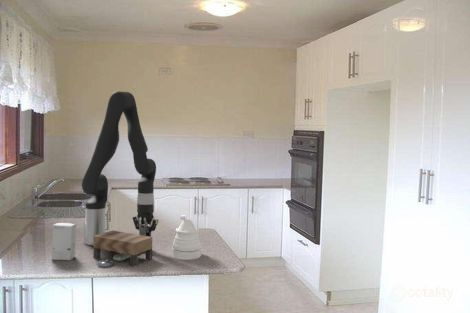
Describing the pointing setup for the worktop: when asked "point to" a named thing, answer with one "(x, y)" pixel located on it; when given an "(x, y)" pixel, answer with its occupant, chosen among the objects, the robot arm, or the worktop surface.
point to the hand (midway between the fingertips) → (145, 239)
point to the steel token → (105, 263)
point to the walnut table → (123, 244)
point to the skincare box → (63, 241)
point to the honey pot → (186, 241)
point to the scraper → (123, 256)
